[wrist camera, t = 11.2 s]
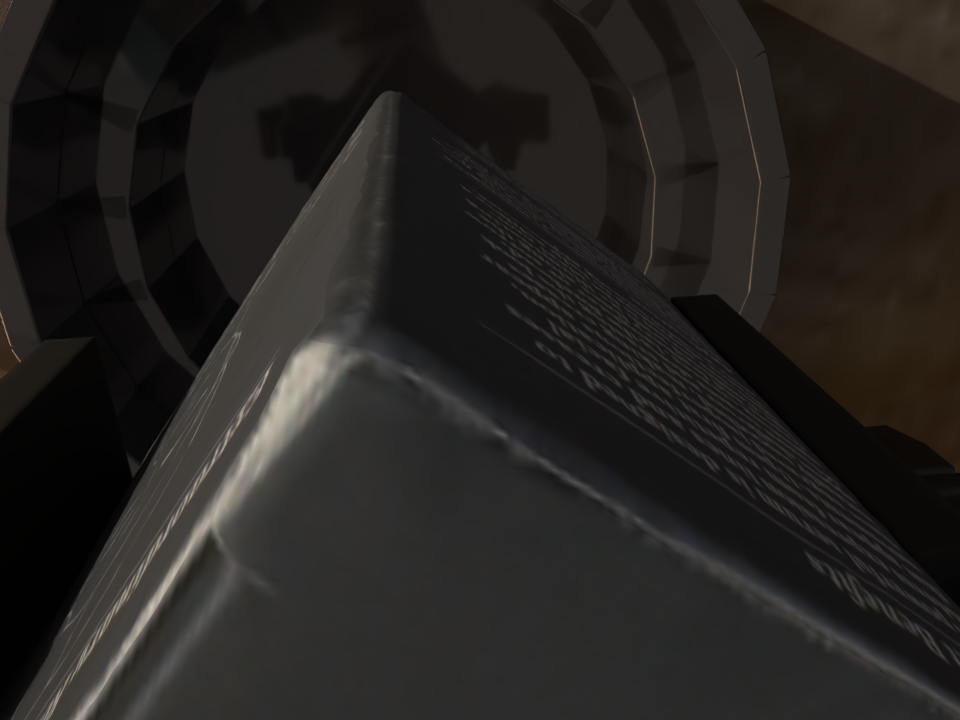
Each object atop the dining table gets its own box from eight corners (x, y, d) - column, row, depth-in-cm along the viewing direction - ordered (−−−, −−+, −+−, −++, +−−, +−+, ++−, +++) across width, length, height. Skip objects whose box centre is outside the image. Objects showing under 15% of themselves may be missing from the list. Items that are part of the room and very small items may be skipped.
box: (407, 573, 16) (404, 1429, 6) (150, 441, 14) (-393, 1339, 5) (656, 272, 14) (1246, 879, 4) (388, 73, 12) (305, 304, 2)
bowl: (157, 485, 28) (91, 608, 23) (-1, -143, 20) (-168, -206, 14) (678, 443, 30) (746, 549, 24) (723, -165, 22) (843, -234, 16)
